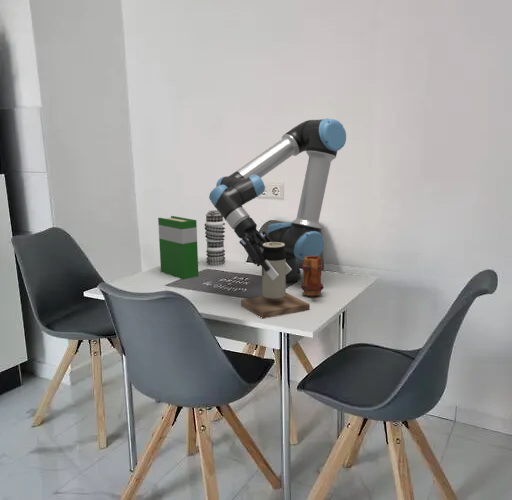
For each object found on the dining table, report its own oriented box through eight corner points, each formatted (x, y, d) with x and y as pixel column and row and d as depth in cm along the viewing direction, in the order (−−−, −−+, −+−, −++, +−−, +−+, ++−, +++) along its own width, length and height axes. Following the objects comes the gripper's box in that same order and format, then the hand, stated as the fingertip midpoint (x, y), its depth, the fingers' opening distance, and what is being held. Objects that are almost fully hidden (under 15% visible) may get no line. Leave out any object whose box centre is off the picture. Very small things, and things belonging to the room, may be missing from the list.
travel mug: (287, 293, 187) (287, 242, 183) (283, 299, 179) (283, 246, 176) (264, 292, 189) (264, 241, 185) (260, 298, 181) (259, 246, 177)
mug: (300, 291, 204) (300, 252, 201) (322, 291, 203) (322, 252, 200) (302, 303, 189) (302, 261, 186) (325, 303, 189) (326, 261, 186)
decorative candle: (208, 262, 253) (207, 209, 247) (228, 263, 251) (226, 209, 246) (203, 267, 244) (201, 212, 239) (223, 267, 242) (221, 212, 237)
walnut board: (285, 297, 196) (285, 292, 195) (309, 309, 182) (309, 304, 181) (240, 305, 188) (240, 299, 187) (262, 318, 174) (262, 312, 173)
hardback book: (160, 272, 236) (158, 217, 231) (175, 269, 241) (172, 215, 236) (183, 279, 223) (181, 222, 219) (198, 276, 228) (196, 220, 223)
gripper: (252, 226, 196) (290, 274, 191) (217, 235, 179) (259, 288, 174) (264, 212, 192) (304, 261, 187) (230, 220, 175) (273, 274, 170)
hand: (282, 274), depth 181 cm, fingers closed on travel mug, 8 cm apart
